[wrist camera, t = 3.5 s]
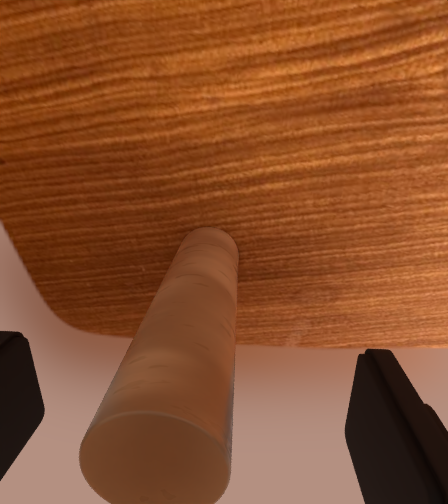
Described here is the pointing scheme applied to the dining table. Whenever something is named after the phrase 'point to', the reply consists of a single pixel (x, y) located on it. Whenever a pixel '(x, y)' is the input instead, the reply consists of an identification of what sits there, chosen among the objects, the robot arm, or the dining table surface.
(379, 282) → the dining table surface
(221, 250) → the stirring stick
